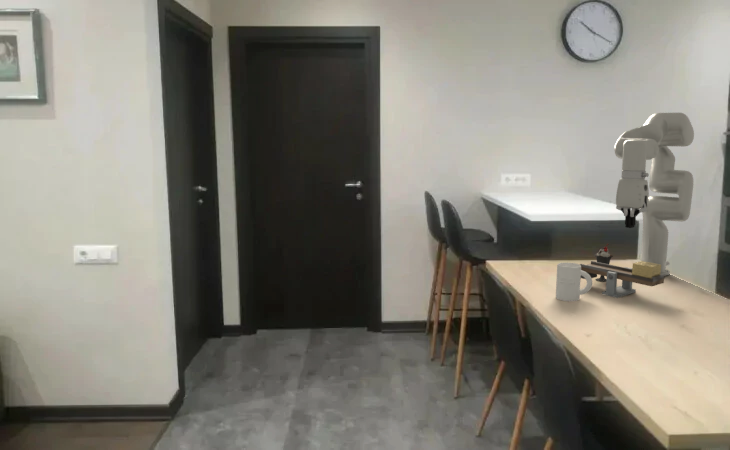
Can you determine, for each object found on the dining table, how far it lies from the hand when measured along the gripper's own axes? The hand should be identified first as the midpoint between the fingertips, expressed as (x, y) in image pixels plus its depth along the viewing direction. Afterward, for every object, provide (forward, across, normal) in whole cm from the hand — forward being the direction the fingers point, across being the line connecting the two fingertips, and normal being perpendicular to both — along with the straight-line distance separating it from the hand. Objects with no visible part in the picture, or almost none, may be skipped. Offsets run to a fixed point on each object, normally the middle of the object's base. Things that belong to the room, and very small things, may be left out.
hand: (629, 227), depth 219 cm
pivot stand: (+24, +2, 0) cm, 25 cm away
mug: (+25, +8, +19) cm, 32 cm away
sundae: (+25, +16, -12) cm, 32 cm away
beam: (+21, +2, 0) cm, 21 cm away
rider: (+17, -7, +1) cm, 18 cm away
